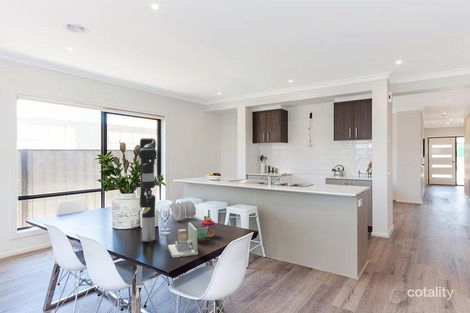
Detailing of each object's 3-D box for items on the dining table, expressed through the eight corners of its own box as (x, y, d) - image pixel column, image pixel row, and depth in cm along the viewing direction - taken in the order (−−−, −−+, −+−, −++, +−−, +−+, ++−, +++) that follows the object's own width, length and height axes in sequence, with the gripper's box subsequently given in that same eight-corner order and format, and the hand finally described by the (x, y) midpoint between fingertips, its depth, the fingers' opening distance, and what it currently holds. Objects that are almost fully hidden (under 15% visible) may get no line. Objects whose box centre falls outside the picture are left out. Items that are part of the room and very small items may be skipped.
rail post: (178, 247, 180) (178, 229, 180) (184, 246, 182) (184, 229, 182) (179, 250, 176) (179, 231, 176) (186, 249, 178) (186, 230, 177)
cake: (217, 235, 213) (217, 216, 213) (207, 238, 205) (207, 218, 205) (208, 232, 220) (208, 214, 220) (198, 235, 212) (198, 216, 212)
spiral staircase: (195, 221, 272) (175, 225, 253) (185, 211, 283) (165, 214, 263) (201, 206, 268) (181, 208, 249) (191, 196, 278) (171, 198, 259)
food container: (196, 244, 192) (196, 230, 192) (192, 241, 197) (192, 228, 197) (211, 240, 199) (211, 227, 199) (207, 238, 204) (207, 225, 204)
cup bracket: (167, 247, 185) (167, 224, 185) (191, 244, 191) (191, 222, 191) (172, 257, 167) (172, 232, 166) (198, 254, 172) (198, 229, 172)
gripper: (155, 181, 167) (156, 207, 167) (153, 178, 180) (154, 202, 181) (142, 182, 164) (143, 208, 165) (141, 179, 177) (142, 203, 178)
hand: (148, 205), depth 173 cm, fingers open, 8 cm apart
